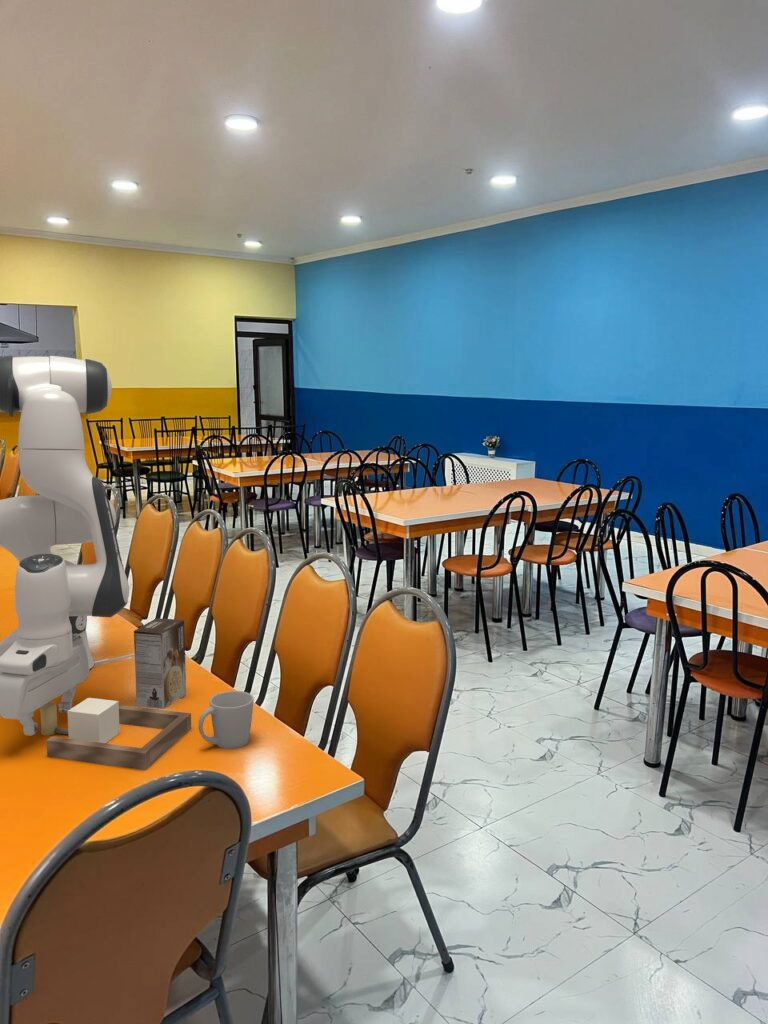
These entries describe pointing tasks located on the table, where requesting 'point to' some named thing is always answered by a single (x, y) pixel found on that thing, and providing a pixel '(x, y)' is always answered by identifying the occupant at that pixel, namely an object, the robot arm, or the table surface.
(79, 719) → the white cube and knob
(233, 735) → the cup
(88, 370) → the robot arm
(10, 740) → the table surface
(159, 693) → the coffee box
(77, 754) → the shelf lane
